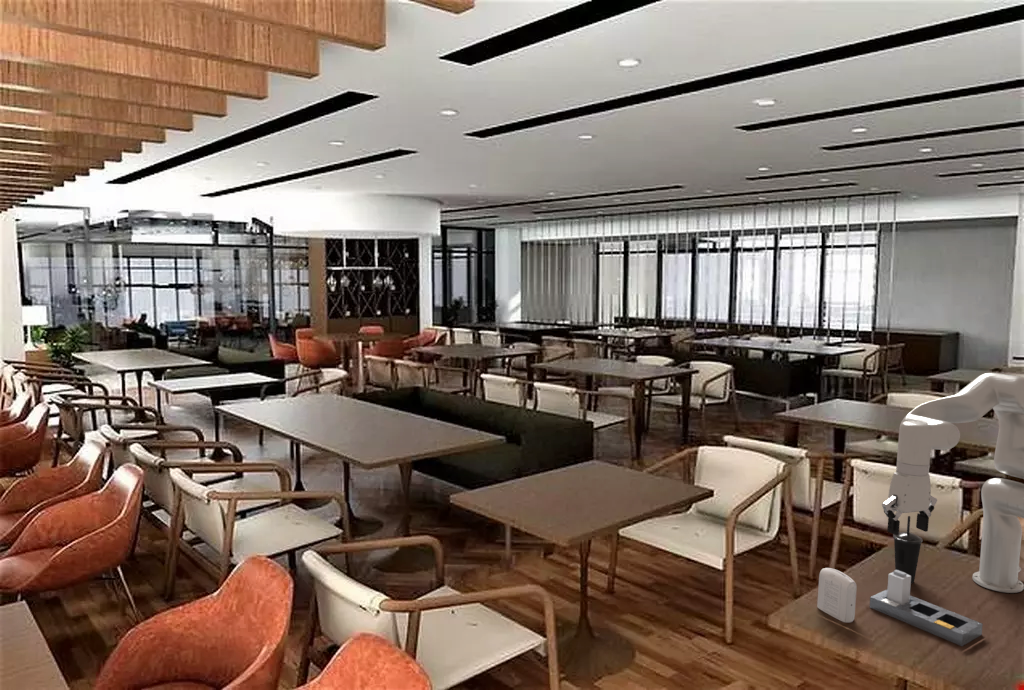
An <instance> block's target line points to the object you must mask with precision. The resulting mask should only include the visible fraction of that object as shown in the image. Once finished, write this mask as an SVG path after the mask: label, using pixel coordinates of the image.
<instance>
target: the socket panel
mask: <svg viewBox="0 0 1024 690" xmlns="http://www.w3.org/2000/svg"><path fill="white" fill-rule="evenodd" d="M887 590H888V588H887V589H885V590H882V591H880V592H878V593H876V594H874V595H871V596H870V597H869V608H870V609H872V610H875V611H878V612H879V613H882V614H885V615H887V616H889V617H891V618H894V619H896V620H897V621H901V622H904V623H906V624H908V625H911V626H912V627H915V628H918V629H920V630H923V631H925V632H927V633H929V634H932V635H934V636H937V637H939V638H941V639H944V640H946V641H948V642H951V643H953V644H956V645H957V646H960V647H964V645H967V644H968V643H971V642H972V641H973V640H975V639H977V638H979V637H980V636H982V635H983V623H982V622H980V621H977V620H974V619H971V618H969V617H967V616H964V615H961V614H959V613H956V612H954V611H952V610H949V609H946V608H944V607H942V606H938V605H935V604H933V603H932V602H928V601H925V600H924V599H920V598H919V597H915V596H912V595H910V601H909V603H908V604H906V605H903V606H902V605H900V604H898V603H895V602H893V601H890V600H888V599H887Z"/></svg>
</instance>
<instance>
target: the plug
mask: <svg viewBox="0 0 1024 690" xmlns="http://www.w3.org/2000/svg"><path fill="white" fill-rule="evenodd" d="M887 576H888V578H887V589H888V590H887V589H886V590H887V599H888V600H890V601H893V602H895V603H898V604H900V605H902V606H903V605H906V604H908V603H909V601H910V596H911V584H912V583H911V576H910V575H908V574H907V573H904V572H902V571H899V570H895V569H894V570H893V571H892V572H890V573H888V575H887Z"/></svg>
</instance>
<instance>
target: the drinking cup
mask: <svg viewBox="0 0 1024 690" xmlns="http://www.w3.org/2000/svg"><path fill="white" fill-rule="evenodd" d="M906 523H907V524H906V531H899V535H894V534H892V537H893V541H894V544H893V545H894V568H895V569H894V570H899V571H902V572H904V573H907V574H908V575H910V576H911V584H915V579H916V573H917V567H918V562H919V556H920V552H921V546H922V543H923V538H922V537H921V536H919V535H918V534H916V533H912V532H911V531H910V528H911V516H910V515H908V516H907V522H906Z"/></svg>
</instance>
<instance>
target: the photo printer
mask: <svg viewBox="0 0 1024 690" xmlns="http://www.w3.org/2000/svg"><path fill="white" fill-rule="evenodd" d="M857 586H858V585H857V583H856V582H855V580H854V579H852V578H851V577H850V576H849V575H847V574H846V573H844V572H842V571H840V570H838V569H835V568H831V567H825V568H822V569H821V570H820V572H819V574H818V590H817V591H818V593H817V602H816V604H817V608H818V609H819V610H820V611H822V612H824V613H826V615H827V614H828V615H829V616H831V617H833V618H835V619H836V620H839V621H840V622H842V623H853V621H854V620H855V617H856V616H855V615H856V601H857V600H856V599H857V588H858V587H857Z"/></svg>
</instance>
